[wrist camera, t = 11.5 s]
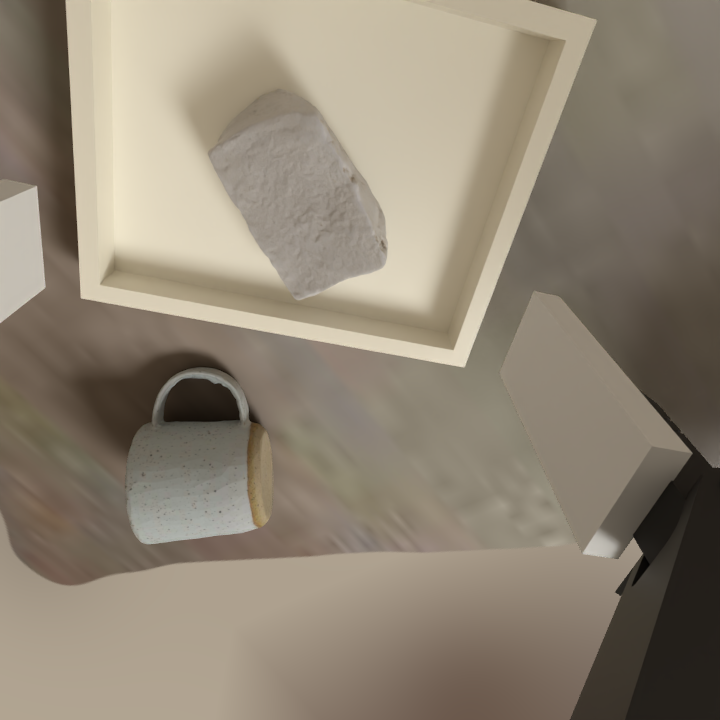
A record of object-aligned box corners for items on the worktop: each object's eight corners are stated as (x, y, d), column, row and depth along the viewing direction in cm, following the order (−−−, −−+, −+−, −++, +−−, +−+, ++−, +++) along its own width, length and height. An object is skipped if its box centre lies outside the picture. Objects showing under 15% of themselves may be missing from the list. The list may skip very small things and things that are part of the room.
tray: (571, 22, 25) (597, 19, 23) (455, 343, 34) (464, 367, 32) (91, -115, 22) (58, -136, 20) (102, 277, 31) (80, 298, 29)
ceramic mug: (281, 477, 40) (269, 561, 33) (174, 483, 40) (140, 569, 33) (260, 356, 34) (241, 427, 28) (136, 363, 35) (87, 437, 28)
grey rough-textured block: (248, 125, 30) (181, 120, 24) (343, 69, 27) (290, 50, 22) (317, 291, 32) (269, 318, 27) (412, 255, 29) (378, 277, 24)
